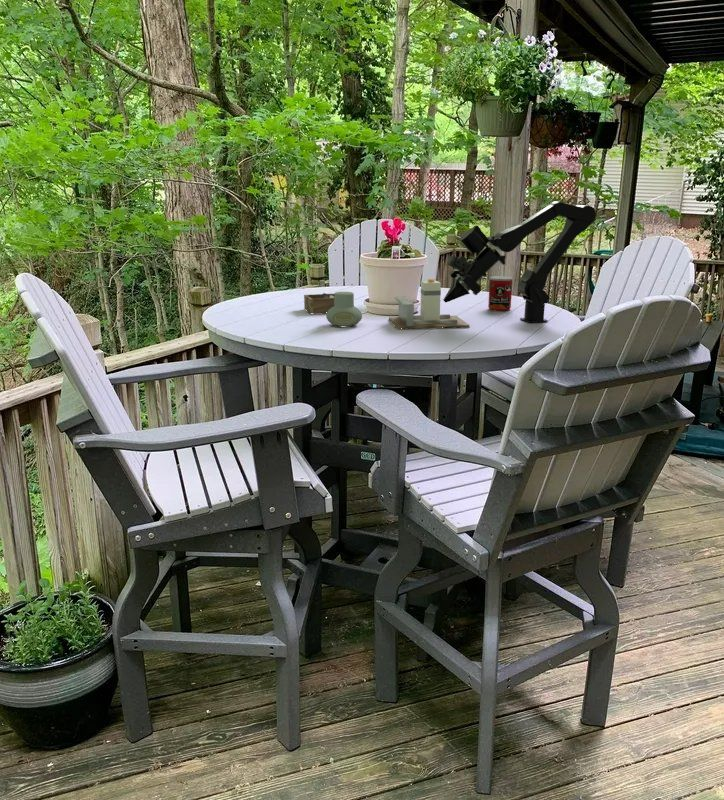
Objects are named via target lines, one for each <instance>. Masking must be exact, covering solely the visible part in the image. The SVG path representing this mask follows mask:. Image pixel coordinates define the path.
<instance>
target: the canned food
mask: <svg viewBox="0 0 724 800" xmlns="http://www.w3.org/2000/svg"><path fill="white" fill-rule="evenodd" d="M488 284H489V285H488V287H489V289H488V310H489V309H490V311H492V310H496V311H495V312H506V311H505V310H508V311H510V310H511V308H512V297H513V295H512V294H513V293H512V292H513V277H512V276H507V275H493V276H490V277H489V283H488Z"/></svg>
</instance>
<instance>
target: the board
mask: <svg viewBox="0 0 724 800" xmlns="http://www.w3.org/2000/svg"><path fill="white" fill-rule="evenodd" d="M388 320H389V322H390V321H391V322H392V323H393V324H394V325H395V326H394V325H393V324H392V323H391V322H390V323H391V324H392V325H393V326H394V327H395V329H396V328H397V329H398V330H413V329H412V328H437V329H443V328H442V327H469V328H470V327H471V326H470V324H469V323H467V322H466V321H464V320H463V319H462V318H460V317H459V316H457V315H451V314H450V313H449V314H448V313H447V314H440V320H420V314H414V326H406V325H405V324H404V323H403V322H402V321H401V319H400V318H399V317H398V316H391V317H390V316H389V317H388ZM401 328H402V329H401ZM406 328H408V329H406ZM397 329H396V330H397Z"/></svg>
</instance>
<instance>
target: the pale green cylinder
mask: <svg viewBox="0 0 724 800" xmlns="http://www.w3.org/2000/svg"><path fill="white" fill-rule="evenodd" d="M420 286H421V287H420V312H419V313H420V314H419V315H420V320H440V315H441V294H442V292H441V291H442V289H441V288H442V282H440V281H438V280H435V279H433V278H427V280H421V281H420Z"/></svg>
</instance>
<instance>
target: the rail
mask: <svg viewBox="0 0 724 800" xmlns="http://www.w3.org/2000/svg"><path fill="white" fill-rule="evenodd" d="M394 299H395V300H396V301H397V302H398V312H397V313H398V316H397V317H399V318H400V319H401V321H402V322H403V323H404V324H405V325H406V326H414V315H415V314H414V313H415V312H414V311H415V303H414V302H412V301H411V300H409V298H407V296H394Z"/></svg>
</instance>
